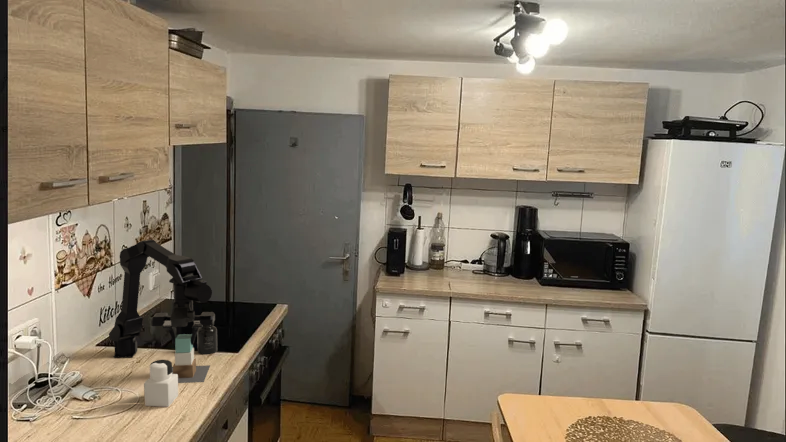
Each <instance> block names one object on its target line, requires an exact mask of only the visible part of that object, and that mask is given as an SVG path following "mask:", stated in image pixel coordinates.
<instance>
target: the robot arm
mask: <svg viewBox="0 0 786 442" xmlns="http://www.w3.org/2000/svg"><path fill="white" fill-rule="evenodd" d="M148 258H151V259H153V260H155V261H156V262H157V263H159V264H161V265H162V266H164V267H165V268H166V272H167V274H169V275H170V276H171V278H170V279H169V283H170V284H173V308H172V310H171V315H169V314H168V312H155V314H154V315H153V317H151V319H150V320H151V321H150V326H151V327H162V329H166V330H167V331H168V332H169V334H170V336H171V339H172V342H173V344H174V345H175V339H176V337H177V336H178V334H177V333H178V332H177V328H178V327H182V328H184V327H185V328H186V327H188V324H189V323H191V322H193V325H192V327H191V328H192V331H191V334H192V340H191V342H192V345H193V346H194V343H195V340H196V337H197V331H198V329H199V328H200V327H202V326H203V325H212V324H213V323H214V324H215V321H216V314H215V312H213V311H202V313H201V314H200V315H196V312H195V310H194V302H196V303H202V304H205V303H208V302H209V300H210V299H211V297H212V295H213V290H212V288H211V286H209V284H207V280H203V276H202V273H201V272H200V270H199V269H198V267H197V264H196V262H195V260H194V259H193V258H191V257H188V256H186V255H179V254H175V253H173V252H172V251H171V250H169V249H167V248H165V247H163V246H162V245H160V244H159V243H158V242H156V241H155V240H154V239H147V240H145V239H144V240H140V241H139V242H137V243H136V244H133V245H132V246H129V247H125V248H123V249H122V250H121V251H120V253H119V265H120V267H121V268H122V271H123V272H124V275H123V286H122V287H123V288H122V299H121V300H122V301H121V310H120V312H119V314H118V315H117V317H115V321H114V326H113V327H112V329H111V330H110V331H109V333H108V335H109V340H110V341H113V343H114V345H113V346H114V355H112V357H123V358H133V357H134V356H135V355H136V354H137V353H138V340H137V339H136V337H140V335H141V331H142V330H141V329H142V328H143V320H144V319H143V317H142V316H141V315H140V314H139V312H138V305H139V304H138V303H139V291H140V283H141V273H142V272H143V270H144V268H145V267H146V266H147V263H148Z"/></svg>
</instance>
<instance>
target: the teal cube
mask: <svg viewBox="0 0 786 442" xmlns="http://www.w3.org/2000/svg"><path fill="white" fill-rule="evenodd" d="M191 340H192V333H191V334H190V333H189V334H188V333H187V334H185V333H183V334H177V337H176V339H175V344H174V346H175V347H174V349H175V352H174V354H175V353H183V352H191V350H192V348H194V344H193V345H192V342H191Z"/></svg>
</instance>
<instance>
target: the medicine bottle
mask: <svg viewBox="0 0 786 442" xmlns="http://www.w3.org/2000/svg"><path fill="white" fill-rule="evenodd" d="M172 367H173V363H172V362H171V361H170V360H168V359H158V360H155V361H153V362H151V363H150V364H149V377H148V379H146V380H145V381H144V382H143V392H144V394H143V395H144V396H143V397H144V407H161V408H162V407H163V408H164V407H166V408H169V407H170V406H171V405H172V404H173V403H174V401H175V400H176V399H177V398H178V397H179V383H178V374H172Z"/></svg>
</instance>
